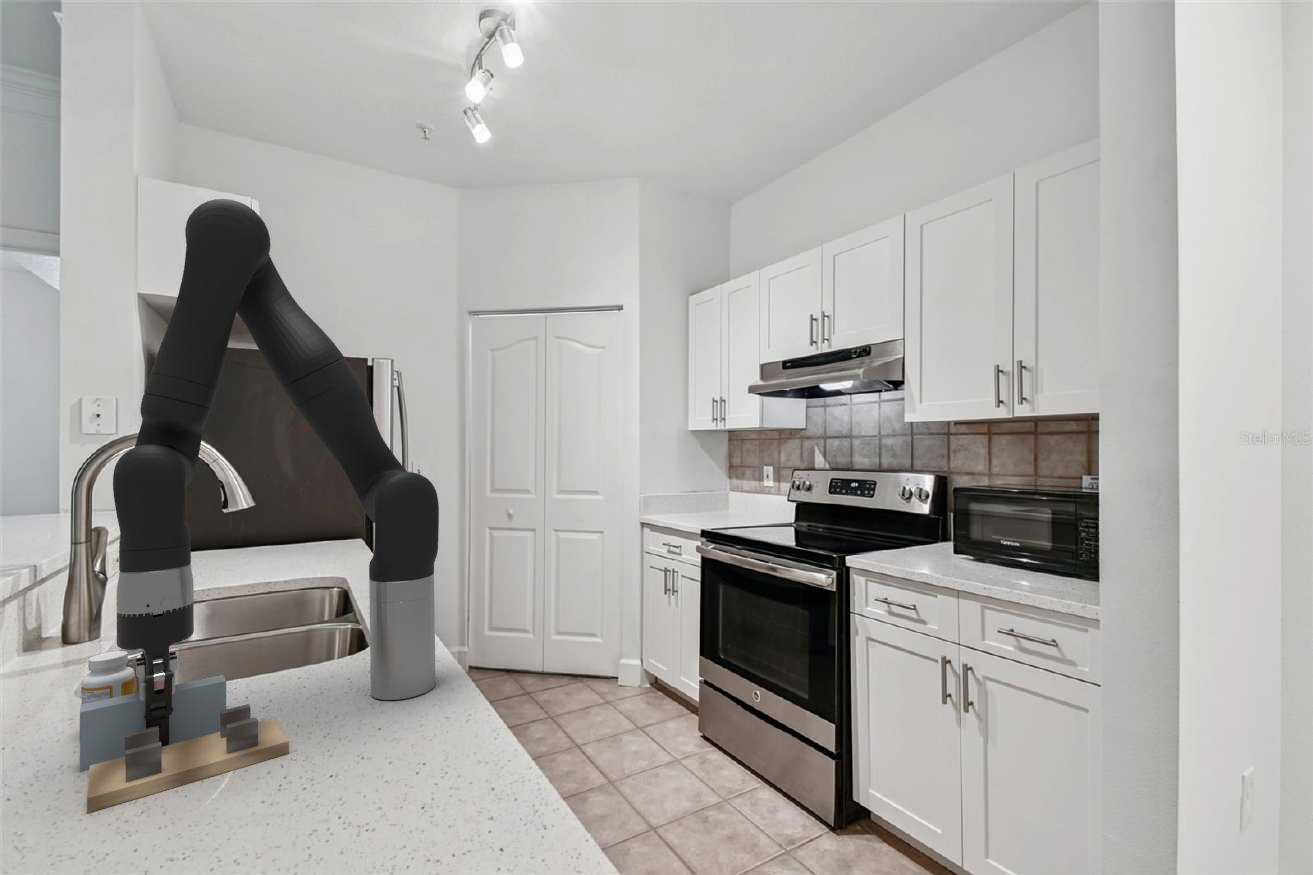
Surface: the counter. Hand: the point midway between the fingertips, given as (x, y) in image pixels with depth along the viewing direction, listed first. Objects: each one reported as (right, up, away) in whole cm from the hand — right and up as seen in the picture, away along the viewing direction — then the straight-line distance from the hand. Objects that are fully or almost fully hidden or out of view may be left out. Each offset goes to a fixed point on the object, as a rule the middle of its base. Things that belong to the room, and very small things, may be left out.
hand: (156, 741), depth 77 cm
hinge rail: (+8, -1, -5) cm, 9 cm away
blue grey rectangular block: (0, -1, 0) cm, 1 cm away
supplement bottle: (-11, -1, +6) cm, 13 cm away
